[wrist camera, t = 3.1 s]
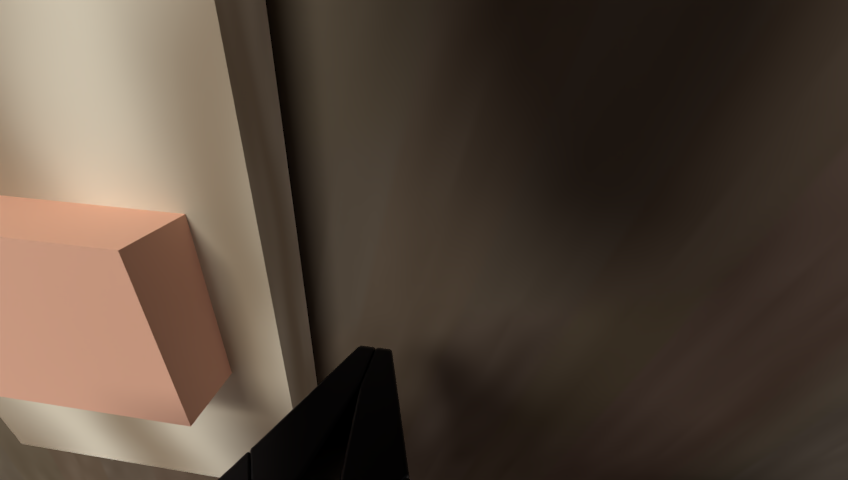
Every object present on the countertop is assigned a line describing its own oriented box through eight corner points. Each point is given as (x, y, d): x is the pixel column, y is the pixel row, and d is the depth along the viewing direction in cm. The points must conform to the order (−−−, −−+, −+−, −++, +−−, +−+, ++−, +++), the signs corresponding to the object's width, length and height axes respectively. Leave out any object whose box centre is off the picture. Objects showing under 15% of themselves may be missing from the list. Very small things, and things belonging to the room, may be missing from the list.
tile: (185, 214, 9) (117, 250, 8) (232, 372, 12) (190, 426, 10) (-106, 184, 10) (-229, 211, 8) (1, 340, 13) (-73, 384, 11)
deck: (250, -108, 8) (183, -159, 6) (325, 447, 17) (308, 492, 15) (-275, -117, 9) (-462, -161, 7) (65, 406, 18) (21, 443, 16)
